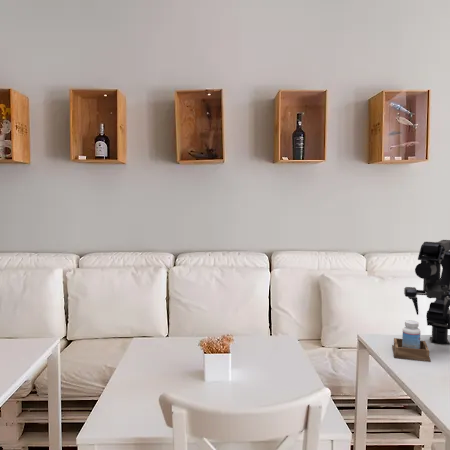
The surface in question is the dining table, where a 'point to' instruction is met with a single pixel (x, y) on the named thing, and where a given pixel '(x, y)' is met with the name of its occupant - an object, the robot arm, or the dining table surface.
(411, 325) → the pill bottle
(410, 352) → the walnut socket
